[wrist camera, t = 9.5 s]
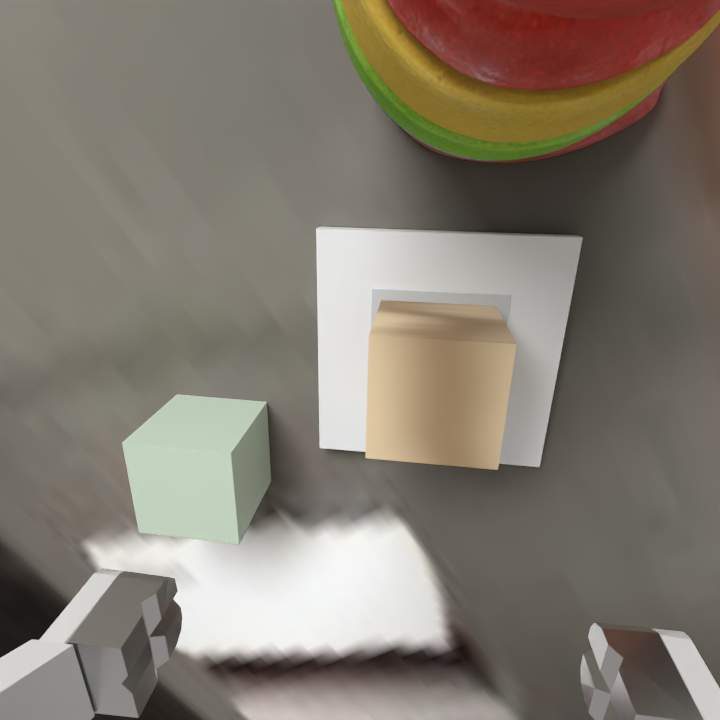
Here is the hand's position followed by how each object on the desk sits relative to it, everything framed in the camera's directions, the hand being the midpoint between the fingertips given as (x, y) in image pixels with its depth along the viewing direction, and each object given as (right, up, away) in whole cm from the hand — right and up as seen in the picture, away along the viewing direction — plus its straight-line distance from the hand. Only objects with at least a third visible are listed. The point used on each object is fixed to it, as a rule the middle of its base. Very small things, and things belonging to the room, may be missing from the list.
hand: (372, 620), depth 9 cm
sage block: (-8, +1, +17) cm, 18 cm away
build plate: (+3, +6, +13) cm, 15 cm away
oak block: (+3, +5, +12) cm, 14 cm away
